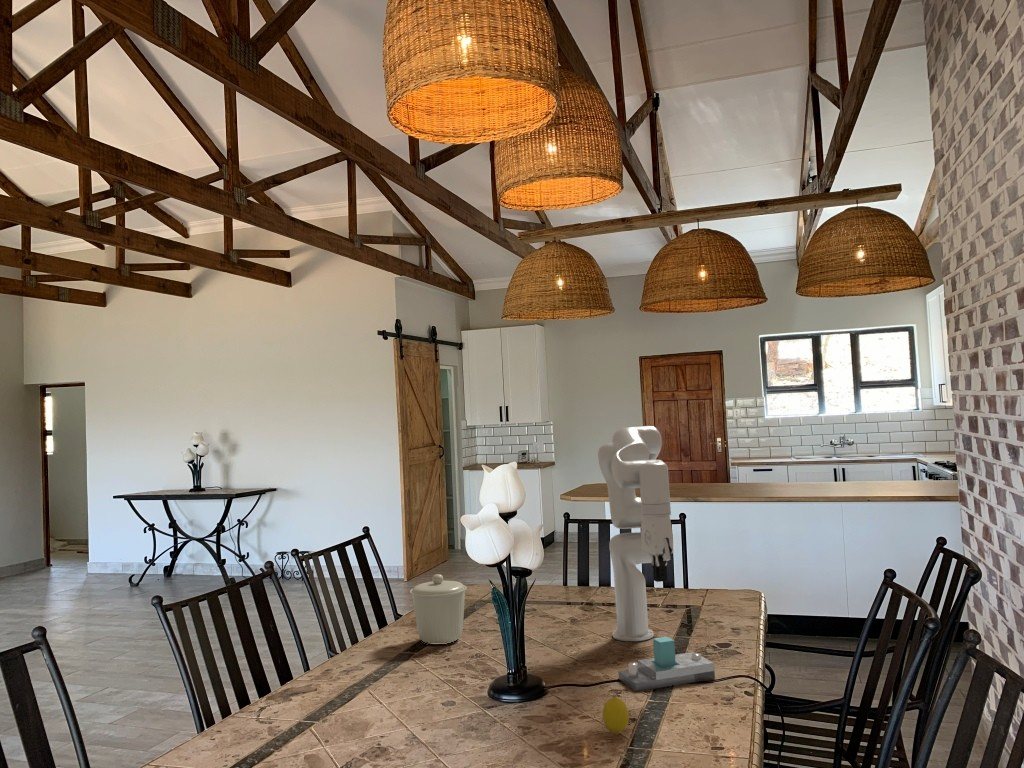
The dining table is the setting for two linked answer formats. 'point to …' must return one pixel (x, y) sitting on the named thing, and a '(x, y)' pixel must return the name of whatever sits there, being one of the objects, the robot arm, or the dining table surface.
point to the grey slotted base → (667, 672)
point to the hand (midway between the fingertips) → (660, 580)
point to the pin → (664, 652)
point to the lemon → (615, 715)
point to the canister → (439, 609)
